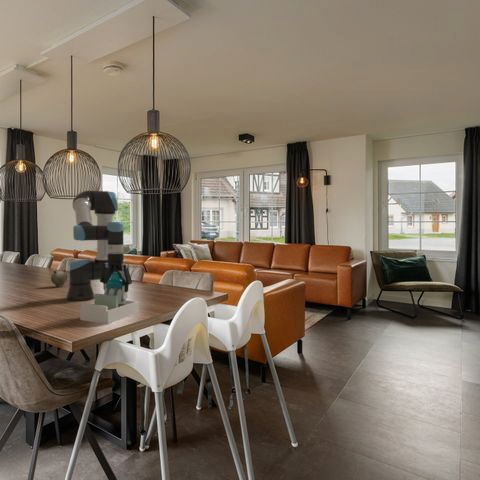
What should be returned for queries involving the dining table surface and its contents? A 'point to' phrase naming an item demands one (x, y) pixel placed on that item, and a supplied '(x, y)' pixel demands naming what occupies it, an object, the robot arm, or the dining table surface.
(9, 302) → the dining table surface
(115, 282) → the vase
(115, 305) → the pusher
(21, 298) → the dining table surface
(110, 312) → the pusher lane
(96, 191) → the robot arm
